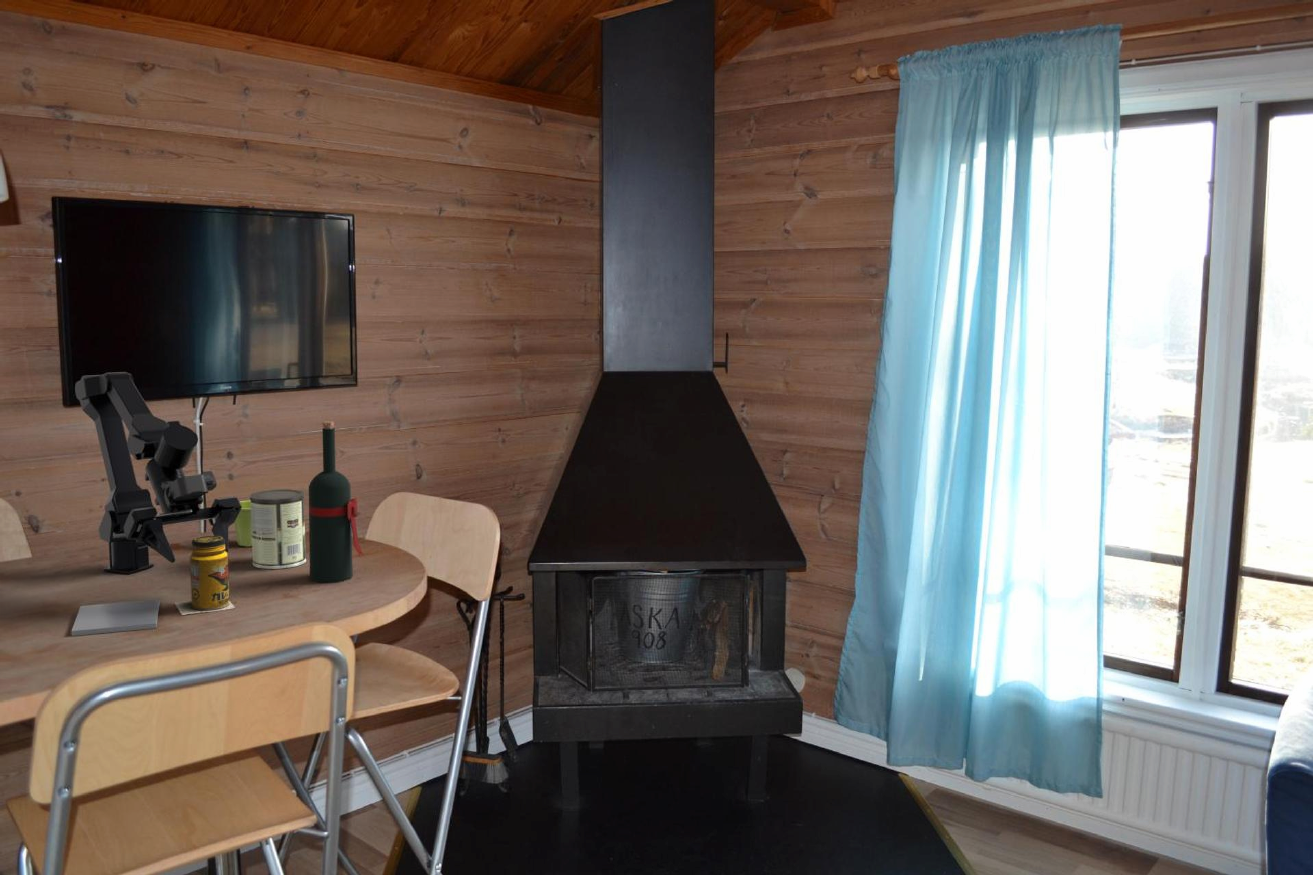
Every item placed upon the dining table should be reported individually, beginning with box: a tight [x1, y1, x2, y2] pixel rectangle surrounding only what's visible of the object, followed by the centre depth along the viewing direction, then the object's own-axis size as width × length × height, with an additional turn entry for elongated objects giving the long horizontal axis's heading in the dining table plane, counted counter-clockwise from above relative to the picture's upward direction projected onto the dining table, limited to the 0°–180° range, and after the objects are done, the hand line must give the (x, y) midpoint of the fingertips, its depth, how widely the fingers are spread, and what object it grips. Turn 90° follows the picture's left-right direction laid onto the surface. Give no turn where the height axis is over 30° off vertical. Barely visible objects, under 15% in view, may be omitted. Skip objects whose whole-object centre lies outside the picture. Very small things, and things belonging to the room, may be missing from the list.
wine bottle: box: [308, 420, 365, 584], centre depth 199 cm, size 8×10×30 cm
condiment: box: [174, 535, 236, 616], centre depth 181 cm, size 7×8×12 cm
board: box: [71, 599, 160, 637], centre depth 174 cm, size 14×12×1 cm
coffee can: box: [249, 488, 307, 570], centre depth 210 cm, size 10×10×14 cm
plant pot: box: [233, 499, 252, 548], centre depth 225 cm, size 9×9×9 cm
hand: (200, 556), depth 181 cm, fingers open, 9 cm apart
